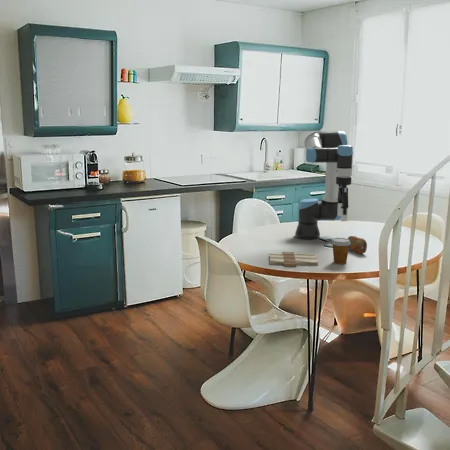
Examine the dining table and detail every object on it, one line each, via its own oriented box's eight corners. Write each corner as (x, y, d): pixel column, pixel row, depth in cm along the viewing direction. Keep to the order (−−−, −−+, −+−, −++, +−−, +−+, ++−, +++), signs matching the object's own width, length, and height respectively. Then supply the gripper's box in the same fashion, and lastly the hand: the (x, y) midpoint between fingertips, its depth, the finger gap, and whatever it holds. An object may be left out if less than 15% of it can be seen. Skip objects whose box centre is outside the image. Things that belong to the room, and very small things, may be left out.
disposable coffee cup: (346, 259, 284) (347, 237, 282) (351, 264, 275) (352, 242, 273) (328, 259, 284) (329, 237, 282) (332, 265, 275) (333, 242, 272)
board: (269, 254, 295) (269, 251, 294) (314, 255, 293) (314, 252, 293) (270, 266, 273) (270, 263, 273) (318, 267, 272) (318, 264, 271)
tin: (345, 249, 306) (346, 234, 304) (350, 248, 307) (351, 233, 305) (362, 255, 292) (363, 240, 290) (367, 255, 293) (368, 239, 291)
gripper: (332, 173, 282) (331, 213, 287) (339, 179, 258) (338, 223, 263) (347, 173, 282) (345, 213, 286) (355, 179, 258) (353, 223, 262)
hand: (342, 218), depth 274 cm, fingers open, 13 cm apart
